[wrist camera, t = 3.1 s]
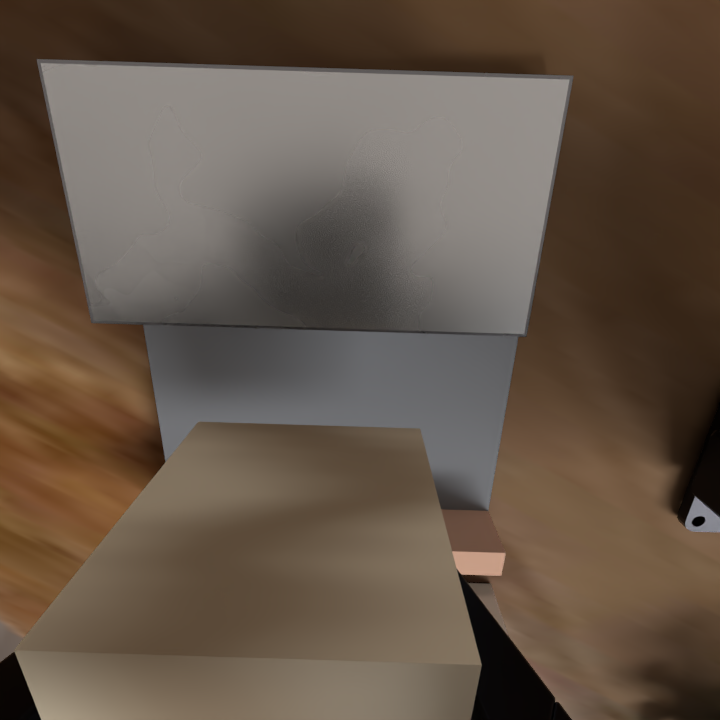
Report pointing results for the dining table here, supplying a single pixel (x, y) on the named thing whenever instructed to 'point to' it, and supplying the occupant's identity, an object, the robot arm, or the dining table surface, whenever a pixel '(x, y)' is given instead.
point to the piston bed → (353, 401)
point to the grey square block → (306, 194)
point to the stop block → (266, 589)
